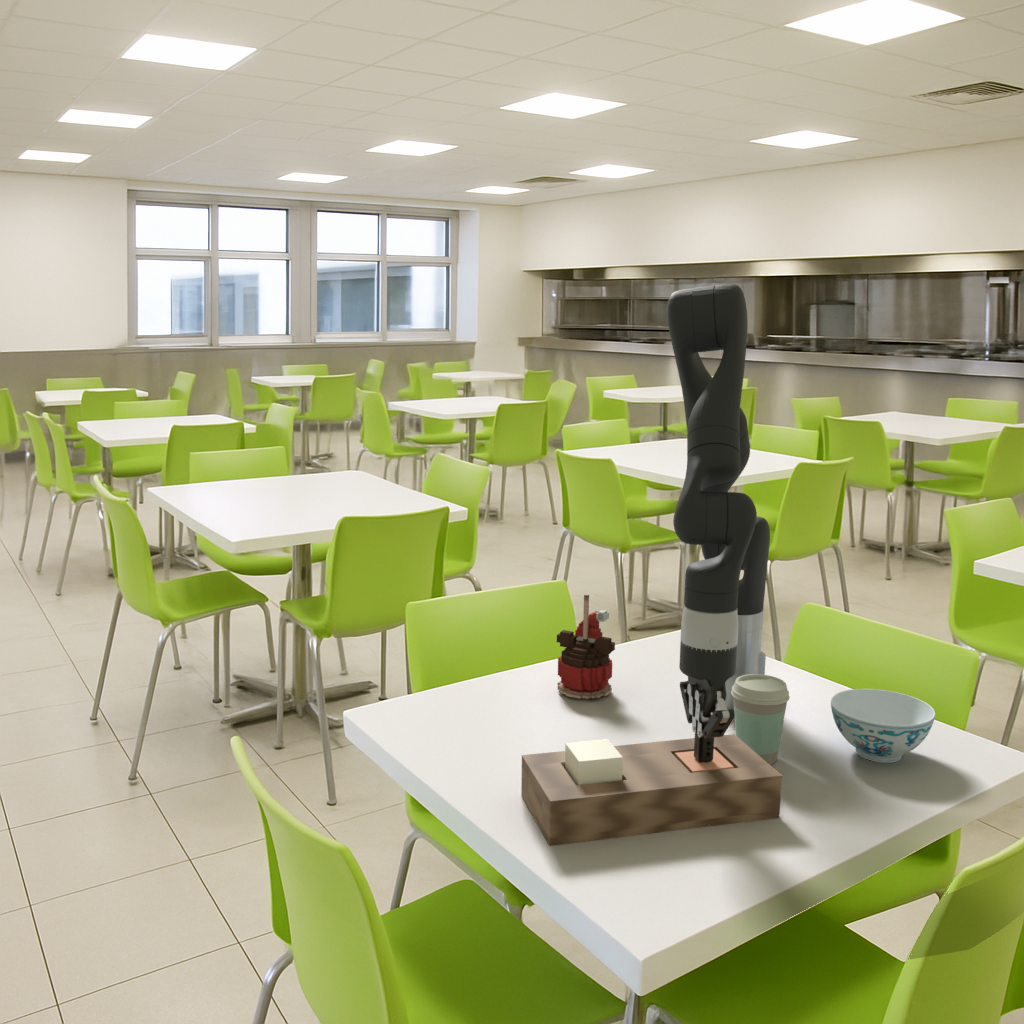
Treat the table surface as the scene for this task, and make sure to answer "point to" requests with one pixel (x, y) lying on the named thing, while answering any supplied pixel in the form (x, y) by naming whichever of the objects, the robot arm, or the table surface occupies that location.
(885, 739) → the chinaware
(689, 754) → the terracotta key
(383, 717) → the table surface
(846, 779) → the table surface
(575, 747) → the cream key
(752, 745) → the coffee cup
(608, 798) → the block
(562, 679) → the cake
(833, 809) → the table surface
